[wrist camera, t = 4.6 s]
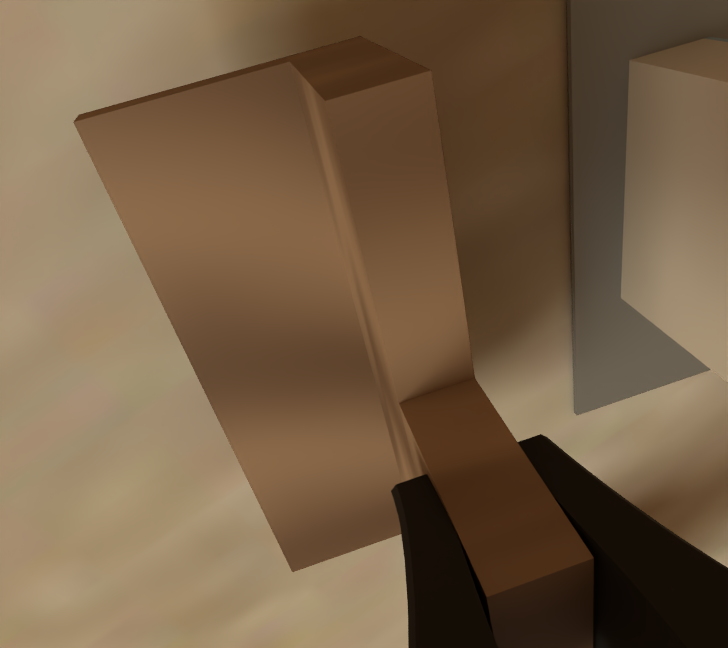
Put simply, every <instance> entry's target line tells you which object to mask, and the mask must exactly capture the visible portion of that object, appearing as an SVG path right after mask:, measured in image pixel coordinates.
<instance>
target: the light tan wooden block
mask: <svg viewBox="0 0 728 648" xmlns="http://www.w3.org/2000/svg"><path fill="white" fill-rule="evenodd" d="M621 299H623V300H624V301H625V302H627V303H628V304H629V305H630V306H632V307H633V308H634V309H635V310H637V311H638V312H639V313H640V314H642V315H643V316H644V317H645V318H647V319H648V320H649V321H650V322H652V323H653V324H654V325H655V326H657V327H658V328H659V329H660V330H662V331H663V332H664V333H666V334H667V335H668V336H669V337H671V338H672V339H673V340H674V341H676V342H677V343H678V344H679V345H681V346H682V347H683V348H684V349H686V350H687V351H688V352H689V353H691V354H692V355H693V356H694V357H696V358H697V359H698V360H700V361H701V362H702V363H703V364H705V365H706V366H707V367H708V368H710V369H711V370H712V371H713V372H715V373H716V374H717V375H718V376H720V377H721V378H722V379H723V380H725V381H726V382H727V383H728V39H723V38H716V37H707V38H704V39H700V40H697V41H693V42H690V43H687V44H683V45H680V46H676V47H673V48H669V49H666V50H662V51H659V52H656V53H652V54H649V55H645V56H642V57H638V58H635V59H632V60H629V87H628V114H627V142H626V169H625V197H624V224H623V251H622V279H621Z"/></svg>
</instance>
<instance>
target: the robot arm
mask: <svg viewBox="0 0 728 648" xmlns="http://www.w3.org/2000/svg"><path fill="white" fill-rule="evenodd" d="M517 443H518V444H519V446H520V447H521V449H522V450H523V452H524V453H525V455H526V456H527V458H528V459H529V461H530V462H531V464H532V465H533V467H534V468H535V470H536V471H537V473H538V474H539V476H540V477H541V479H542V480H543V482H544V483H545V485H546V486H547V488H548V489H549V491H550V492H551V494H552V495H553V497H554V498H555V500H556V501H557V503H558V504H559V506H560V507H561V509H562V511H563V512H564V514H565V515H566V517H567V518H568V520H569V521H570V523H571V524H572V526H573V527H574V529H575V530H576V532H577V533H578V535H579V536H580V538H581V539H582V541H583V542H584V544H585V545H586V547H587V548H588V550H589V551H590V553H591V554H592V556H593V557H594V599H593V648H728V568H727V567H726V566H724V565H722V564H721V563H719V562H717V561H716V560H714V559H713V558H711V557H710V556H708V555H707V554H705V553H703V552H702V551H700V550H699V549H697V548H696V547H694V546H693V545H691V544H689V543H688V542H686V541H685V540H683V539H682V538H680V537H679V536H677V535H676V534H674V533H673V532H672V531H670V530H669V529H667V528H666V527H664V526H663V525H661V524H660V523H658V522H657V521H656V520H654V519H653V518H651V517H650V516H649V515H647V514H646V513H644V512H643V511H642V510H640V509H639V508H637V507H636V506H634V505H633V504H632V503H630V502H629V501H627V500H626V499H625V498H623V497H622V496H621V495H619V494H618V493H617V492H615V491H614V490H613V489H611V488H610V487H609V486H607V485H606V484H605V483H603V482H602V481H601V480H599V479H598V478H597V477H596V476H594V475H593V474H592V473H590V472H589V471H588V470H587V469H585V468H584V467H583V466H581V465H580V464H579V463H578V462H576V461H575V460H574V459H573V458H571V457H570V456H569V455H568V454H567V453H565V452H564V451H563V450H562V449H560V448H559V447H558V446H557V445H556V444H554V443H553V442H552V441H551V440H550V439H548V438H547V437H545V436H543V435H541V434H540V435H537V436H535V437H532V438H529V439H526V440H523V441H520V442H517ZM391 493H392V496H393V500H394V503H395V507H396V510H397V514H398V517H399V522H400V528H401V534H402V541H403V549H404V557H405V569H406V584H407V599H408V637H409V648H498V646H497V644H496V642H495V639H494V637H493V634H492V632H491V629H490V627H489V624H488V621H487V618H486V615H485V612H484V610H483V607H482V604H481V601H480V598H479V595H478V593H477V590H476V587H475V584H474V581H473V578H472V576H471V573H470V570H469V567H468V564H467V561H466V558H465V556H464V553H463V550H462V547H461V544H460V541H459V539H458V536H457V533H456V530H455V528H454V525H453V523H452V521H451V519H450V517H449V515H448V513H447V511H446V509H445V507H444V505H443V503H442V501H441V499H440V497H439V495H438V494H437V492H436V490H435V488H434V486H433V484H432V482H431V480H430V478H429V477H428V475H427V474H425V475H422V476H419V477H416V478H413V479H410V480H407V481H404V482H401V483H399V484H396V485H395V486H394V488H393V489H392V490H391Z"/></svg>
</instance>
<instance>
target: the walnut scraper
mask: <svg viewBox="0 0 728 648" xmlns="http://www.w3.org/2000/svg"><path fill="white" fill-rule="evenodd" d="M74 124H75V126H76V128H77V131H78V133H79V135H80V137H81V139H82V141H83V143H84V145H85V147H86V149H87V151H88V153H89V155H90V157H91V159H92V161H93V163H94V165H95V167H96V170H97V172H98V174H99V176H100V178H101V180H102V182H103V184H104V186H105V188H106V190H107V192H108V194H109V196H110V198H111V200H112V202H113V204H114V207H115V209H116V211H117V213H118V215H119V217H120V219H121V221H122V223H123V225H124V227H125V229H126V231H127V233H128V235H129V237H130V239H131V241H132V243H133V246H134V248H135V250H136V252H137V254H138V256H139V258H140V260H141V262H142V264H143V266H144V268H145V270H146V272H147V274H148V276H149V278H150V280H151V282H152V285H153V287H154V289H155V291H156V293H157V295H158V297H159V299H160V301H161V303H162V305H163V307H164V309H165V311H166V313H167V315H168V317H169V319H170V322H171V324H172V326H173V328H174V330H175V332H176V334H177V336H178V338H179V340H180V342H181V344H182V346H183V348H184V350H185V352H186V354H187V356H188V358H189V361H190V363H191V365H192V367H193V369H194V371H195V373H196V375H197V377H198V379H199V381H200V383H201V385H202V387H203V389H204V391H205V393H206V395H207V397H208V400H209V402H210V404H211V406H212V408H213V410H214V412H215V414H216V416H217V418H218V420H219V422H220V424H221V426H222V428H223V430H224V432H225V434H226V437H227V439H228V441H229V443H230V445H231V447H232V449H233V451H234V453H235V455H236V457H237V459H238V461H239V463H240V465H241V467H242V469H243V471H244V473H245V476H246V478H247V480H248V482H249V484H250V486H251V488H252V490H253V492H254V494H255V496H256V498H257V500H258V502H259V504H260V506H261V508H262V510H263V513H264V515H265V517H266V519H267V521H268V523H269V525H270V527H271V529H272V531H273V533H274V535H275V537H276V539H277V541H278V543H279V545H280V547H281V549H282V552H283V554H284V556H285V558H286V560H287V562H288V564H289V566H290V568H291V570H292V572H294V571H297V570H300V569H303V568H306V567H309V566H311V565H314V564H317V563H320V562H323V561H326V560H328V559H331V558H334V557H337V556H340V555H343V554H345V553H348V552H351V551H354V550H357V549H360V548H362V547H365V546H368V545H371V544H374V543H377V542H380V541H382V540H385V539H388V538H391V537H394V536H397V535H399V534H401V528H400V522H399V517H398V514H397V510H396V507H395V503H394V500H393V496H392V493H391V490H392V489H393V488H394V486H395V485H396V484H399V483H401V482H404V481H407V480H410V479H413V478H416V477H419V476H422V475H425V474H427V475H428V477H429V478H430V480H431V482H432V484H433V486H434V488H435V490H436V492H437V494H438V495H439V497H440V499H441V501H442V503H443V505H444V507H445V509H446V511H447V513H448V515H449V517H450V519H451V521H452V523H453V525H454V528H455V530H456V533H457V536H458V539H459V541H460V544H461V547H462V550H463V553H464V556H465V558H466V561H467V564H468V567H469V570H470V573H471V576H472V578H473V581H474V584H475V587H476V590H477V593H478V595H479V598H480V601H481V604H482V607H483V610H484V612H485V615H486V618H487V621H488V624H489V627H490V629H491V632H492V634H493V637H494V639H495V642H496V644H497V646H498V648H593V599H594V557H593V556H592V554H591V553H590V551H589V550H588V548H587V547H586V545H585V544H584V542H583V541H582V539H581V538H580V536H579V535H578V533H577V532H576V530H575V529H574V527H573V526H572V524H571V523H570V521H569V520H568V518H567V517H566V515H565V514H564V512H563V511H562V509H561V507H560V506H559V504H558V503H557V501H556V500H555V498H554V497H553V495H552V494H551V492H550V491H549V489H548V488H547V486H546V485H545V483H544V482H543V480H542V479H541V477H540V476H539V474H538V473H537V471H536V470H535V468H534V467H533V465H532V464H531V462H530V461H529V459H528V458H527V456H526V455H525V453H524V452H523V450H522V449H521V447H520V446H519V444H518V443H517V441H516V440H515V438H514V436H513V435H512V433H511V432H510V430H509V429H508V427H507V426H506V424H505V423H504V421H503V420H502V418H501V417H500V415H499V414H498V412H497V411H496V409H495V408H494V406H493V405H492V403H491V402H490V400H489V399H488V397H487V396H486V394H485V393H484V391H483V390H482V388H481V387H480V385H479V384H478V382H477V381H476V379H475V376H474V369H473V362H472V355H471V348H470V341H469V333H468V326H467V319H466V312H465V305H464V298H463V291H462V284H461V277H460V270H459V263H458V256H457V249H456V241H455V234H454V227H453V220H452V213H451V206H450V199H449V192H448V185H447V178H446V171H445V164H444V157H443V149H442V142H441V135H440V128H439V121H438V114H437V107H436V100H435V93H434V86H433V79H432V72H431V70H429V69H427V68H425V67H423V66H421V65H419V64H417V63H415V62H413V61H411V60H408V59H406V58H404V57H402V56H400V55H398V54H396V53H394V52H392V51H390V50H388V49H386V48H383V47H381V46H379V45H377V44H375V43H373V42H371V41H369V40H367V39H365V38H363V37H361V36H359V37H356V38H352V39H348V40H345V41H341V42H338V43H334V44H331V45H327V46H323V47H320V48H316V49H313V50H309V51H306V52H302V53H298V54H295V55H291V56H288V57H284V58H280V59H277V60H273V61H270V62H266V63H263V64H259V65H255V66H252V67H248V68H245V69H241V70H238V71H234V72H230V73H227V74H223V75H220V76H216V77H212V78H209V79H205V80H202V81H198V82H195V83H191V84H187V85H184V86H180V87H177V88H173V89H169V90H166V91H162V92H159V93H155V94H152V95H148V96H144V97H141V98H137V99H134V100H130V101H127V102H123V103H119V104H116V105H112V106H109V107H105V108H101V109H98V110H94V111H91V112H87V113H84V114H80V115H78V117H77V118H76V119H75V121H74Z"/></svg>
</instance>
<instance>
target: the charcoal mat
mask: <svg viewBox="0 0 728 648" xmlns="http://www.w3.org/2000/svg"><path fill="white" fill-rule="evenodd" d="M707 37H716V38H723V39H728V0H567V43H568V98H569V153H570V209H571V264H572V320H573V375H574V413H575V414H576V415H579V414H582V413H585V412H588V411H591V410H594V409H597V408H600V407H603V406H606V405H609V404H612V403H615V402H617V401H620V400H623V399H626V398H629V397H632V396H635V395H638V394H641V393H644V392H647V391H650V390H653V389H655V388H658V387H661V386H664V385H667V384H670V383H673V382H676V381H679V380H682V379H685V378H688V377H691V376H693V375H696V374H699V373H702V372H705V371H708V370H711V369H710V368H708V367H707V366H706V365H705V364H703V363H702V362H701V361H700V360H698V359H697V358H696V357H694V356H693V355H692V354H691V353H689V352H688V351H687V350H686V349H684V348H683V347H682V346H681V345H679V344H678V343H677V342H676V341H674V340H673V339H672V338H671V337H669V336H668V335H667V334H666V333H664V332H663V331H662V330H660V329H659V328H658V327H657V326H655V325H654V324H653V323H652V322H650V321H649V320H648V319H647V318H645V317H644V316H643V315H642V314H640V313H639V312H638V311H637V310H635V309H634V308H633V307H632V306H630V305H629V304H628V303H627V302H625V301H624V300H623V299H621V279H622V251H623V224H624V197H625V169H626V142H627V114H628V87H629V60H632V59H635V58H638V57H642V56H645V55H649V54H652V53H656V52H659V51H662V50H666V49H669V48H673V47H676V46H680V45H683V44H687V43H690V42H693V41H697V40H700V39H704V38H707Z"/></svg>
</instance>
